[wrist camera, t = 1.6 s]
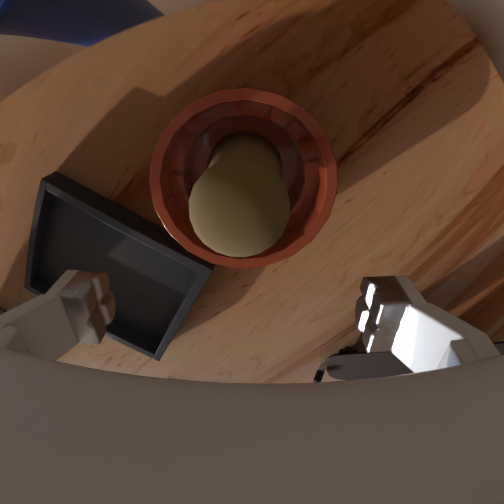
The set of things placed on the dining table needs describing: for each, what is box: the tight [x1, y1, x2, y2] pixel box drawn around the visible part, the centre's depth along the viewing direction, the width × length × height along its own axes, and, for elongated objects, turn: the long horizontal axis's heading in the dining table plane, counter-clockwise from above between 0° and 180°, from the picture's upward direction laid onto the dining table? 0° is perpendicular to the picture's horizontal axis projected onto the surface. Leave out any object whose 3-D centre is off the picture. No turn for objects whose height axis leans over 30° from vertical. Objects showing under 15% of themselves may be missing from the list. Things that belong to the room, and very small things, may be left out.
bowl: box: [149, 87, 337, 268], centre depth 22 cm, size 13×13×5 cm
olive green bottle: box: [189, 132, 290, 257], centre depth 19 cm, size 6×6×11 cm
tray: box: [25, 171, 215, 361], centre depth 28 cm, size 18×14×3 cm
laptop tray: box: [313, 341, 504, 383], centre depth 33 cm, size 23×23×9 cm
